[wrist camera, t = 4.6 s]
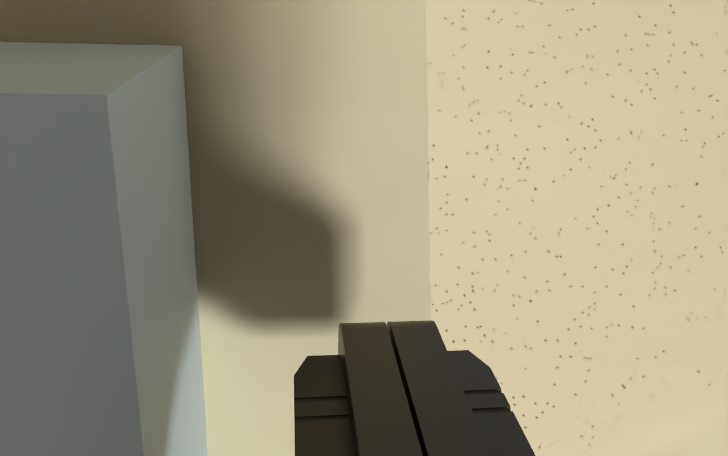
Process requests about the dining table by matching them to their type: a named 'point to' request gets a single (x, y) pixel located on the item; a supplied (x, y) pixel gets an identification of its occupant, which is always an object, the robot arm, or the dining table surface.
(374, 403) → the robot arm
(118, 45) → the block
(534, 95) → the dining table surface
